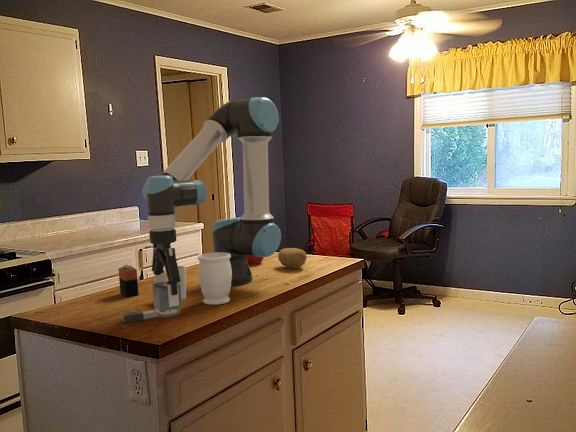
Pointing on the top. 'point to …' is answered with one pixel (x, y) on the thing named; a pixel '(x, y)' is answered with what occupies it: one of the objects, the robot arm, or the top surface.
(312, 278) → the top surface
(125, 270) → the battery
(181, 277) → the white pillar candle
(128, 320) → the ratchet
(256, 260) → the pomegranate
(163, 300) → the grey rounded cube
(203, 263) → the jar
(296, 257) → the potato
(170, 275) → the robot arm
